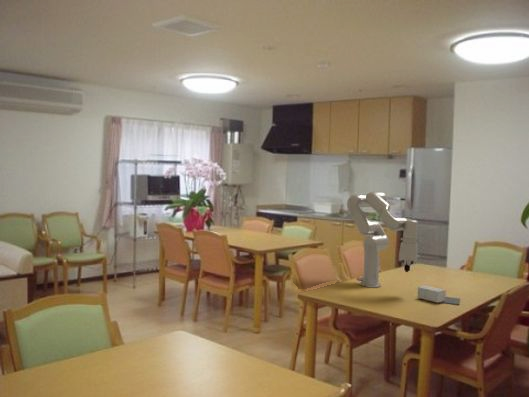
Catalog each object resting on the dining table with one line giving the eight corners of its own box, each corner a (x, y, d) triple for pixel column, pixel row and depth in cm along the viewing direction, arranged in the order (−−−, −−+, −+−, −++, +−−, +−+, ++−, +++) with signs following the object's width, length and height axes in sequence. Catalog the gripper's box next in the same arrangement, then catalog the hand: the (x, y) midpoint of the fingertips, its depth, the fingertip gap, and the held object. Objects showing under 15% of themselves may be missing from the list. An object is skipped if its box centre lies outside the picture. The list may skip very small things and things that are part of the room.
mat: (424, 300, 278) (425, 299, 278) (427, 295, 291) (427, 294, 291) (459, 305, 271) (459, 304, 271) (460, 299, 284) (460, 298, 284)
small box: (417, 297, 282) (437, 302, 272) (417, 286, 282) (437, 291, 271) (425, 296, 287) (445, 301, 277) (425, 285, 287) (446, 289, 276)
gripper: (395, 240, 287) (392, 270, 288) (422, 243, 281) (419, 274, 282) (397, 238, 294) (394, 268, 295) (423, 241, 288) (420, 272, 289)
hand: (406, 271), depth 289 cm, fingers closed
